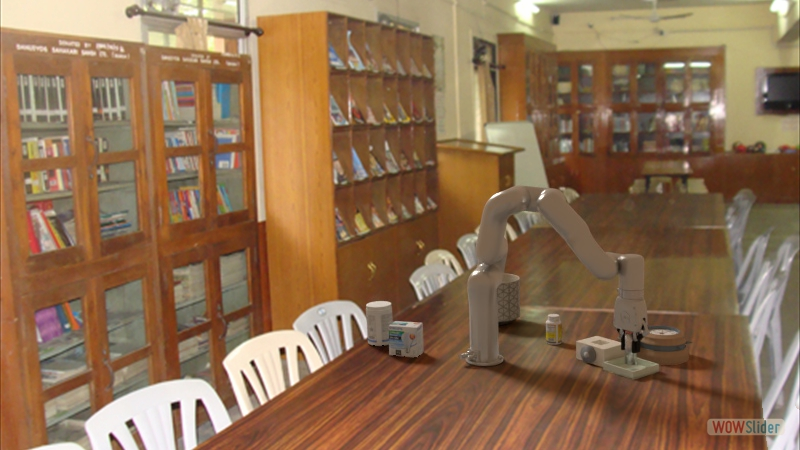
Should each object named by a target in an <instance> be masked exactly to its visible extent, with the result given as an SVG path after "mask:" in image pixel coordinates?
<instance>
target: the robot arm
mask: <svg viewBox="0 0 800 450" xmlns="http://www.w3.org/2000/svg"><path fill="white" fill-rule="evenodd" d="M521 212H529V213H538V214H540V216H542V217H543V219H545V220H546V222H547V223H548V224H549V225H550V226H551V227H552V228H553V229H554V231H556V233H558V234H559V236H560V237H561V238H562V239H563V240H564V241H565V243H566V244H567V246H568V247H569V249H571V250H572V252H573V253H574V254H575V256H576V257H577V258H578V260H579V262H581V264H583V266H585V268H586V269H587V270H588V271H589V272H590V273H591V274H592V275H593V276H594V278H596V279H598V280H599V281H603V282H608V281H611V280H613V279H614V278H615V277H616V275H618V287H617V288H616V292H617V293H618V295H617V296H616V299H615V303H614V309H613V323H612V326H613V327H614V329H615V330H616V331H617V333H618V334H619V335H618V336H620V337H619V338H620V339H621V340H620V342H621V350H625V330H626V331H630V332H633V339H634V341H632V353H638V352H640V340H642V338H644V337H645V336H647V335H649V334H650V332H649V330H648V328H647V327H648V309H647V304H646V303H647V302H646V299H645V258H644V256H642V255H641V254H637V253H625V254H622V253H615V252H611V251H604V249H602V247H601V246H600V245H599V244H598V242H597V241H596V239H595V238H594V236H593V235H592V233H591V231H590V228H589V225H588V224H587V223H586V221H585V220H584V219H583V218H582V217H581V215H579V214H578V213H577V212H576V211H575V210H574V208H573V207H572V206H571V205H570V204H569V203H568V202H567V198H566V195H565V194H564V192H562V191H561V190H560V189H558V188H553V187H540V186H532V185H531V186H530V185H514V186H511V187H509V188H507V189H505V190H502V191H499V192H497V193H495V194H493V195H492V196H491V197H490V198H488V199H487V201H486V203H485V205H484V207H483V210H482V214H481V219H480V224H479V228H478V235H477V239H476V245H475V249H474V253H475V257H476V259H477V265H476V268H475V269H474V270H473V271H472V272H471V273H470V275H469V276H468V279H467V284H466V289H467V297H468V315H469V317H468V318H469V319H468V320H469V347H467V351H466V352H462V353H459V354H458V356H457V357H458V359H459V360H464V359H465V362H466V363H467V364H469V365H472V366H477V367H492V366H496V365H497V366H498V365H499V364H501V363H503V362H504V356H503V355H502V354H500V352H499V347H500V346H499V326H498V302H497V288H498V287H499V285H500V284H501V282H502V279H503V274H504V273H505V267H506V263H507V258H508V250H509V245H508V241H507V239H506V237H505V235H506V230H507V226H508V225H507V224H508V219H509V218H510V217H511V216H512V215H517V214H520V213H521ZM642 330H643V332H642ZM637 333H638V336H637Z"/></svg>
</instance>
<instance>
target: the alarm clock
mask: <svg viewBox="0 0 800 450" xmlns="http://www.w3.org/2000/svg"><path fill="white" fill-rule="evenodd" d="M647 328H648V330H649V332H650V334H649V335H647V336H645V337H644V338H642V340H640V352H638V353H637V358H640V359H643V360H647V361H650V362H654V363H657V364H659V366H674V365H675V366H676V365H682V364H685V363H687V362H688V361H689V359H690V358H689V357H690V356H689V355H690V351H689V349H688V347H687V345H688V344H693V341H690V340H687V339H686V337H685V332H684V331H682V330H680V329H678V328H676V327H673V326H668V325H649V326H647ZM642 332H643V330H642ZM637 336H638V333H637ZM617 340H620V341H621V337H620V336H619V335H618V336H617ZM686 344H687V345H686Z"/></svg>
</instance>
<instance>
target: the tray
mask: <svg viewBox="0 0 800 450" xmlns="http://www.w3.org/2000/svg"><path fill="white" fill-rule="evenodd" d="M602 370H603V371H605V372H607V373H612V374H614V375H617V376H619V377H620V376H621V377H623V378H626V379H629V380H632V381H634V380H637V379H640V378H644V377H647V376H650V375H654V374H657V373H659V372H660V365H659V364H657V363H654V362H650V361H647V360H643V359H640V358H637V364H636V365H627V364H625V356H624V357H620V358H617V359H613V360H610V361H606V362H603V367H602Z"/></svg>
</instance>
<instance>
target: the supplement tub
mask: <svg viewBox="0 0 800 450" xmlns="http://www.w3.org/2000/svg"><path fill="white" fill-rule="evenodd" d="M365 307H366V308H365V315H366V316H365V317H366V332H367V343H368V344H369V345H371V346H373V345H375V346H374V347H383V346H382V345H384V346H389V325H391V324H392V323H393V322H394V320H393V319H394V318H393V307H392V302H390V301H386V300H385V301H384V300H378V301H377V300H376V301H371V302H368V303H366V305H365Z"/></svg>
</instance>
